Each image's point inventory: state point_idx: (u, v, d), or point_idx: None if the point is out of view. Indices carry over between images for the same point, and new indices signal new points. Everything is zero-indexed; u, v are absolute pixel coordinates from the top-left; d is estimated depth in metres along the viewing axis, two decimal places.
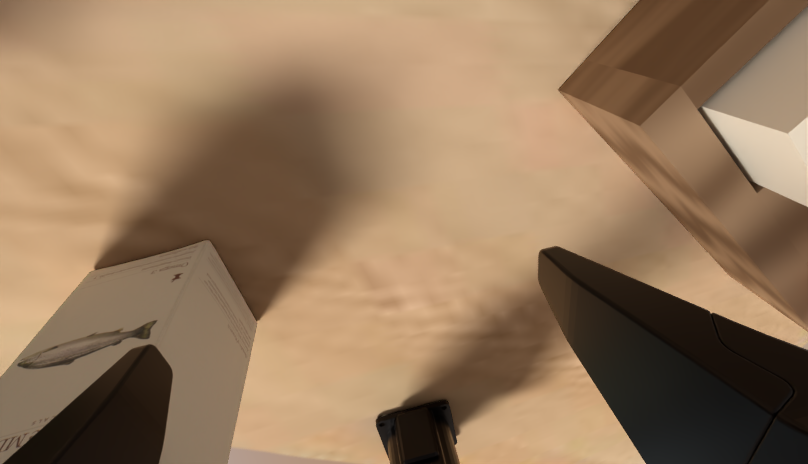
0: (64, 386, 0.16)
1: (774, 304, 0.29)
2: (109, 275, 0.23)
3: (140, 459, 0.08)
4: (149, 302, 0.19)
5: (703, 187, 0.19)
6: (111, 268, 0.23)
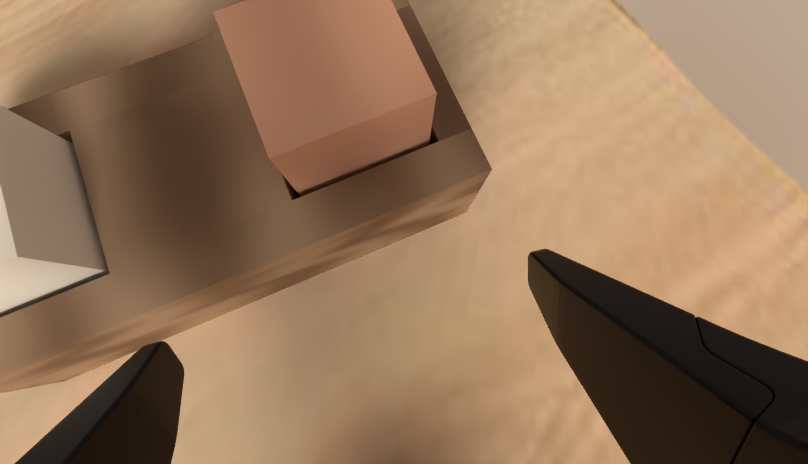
0: None
1: (449, 200, 0.19)
2: None
3: (153, 456, 0.08)
4: None
5: (48, 341, 0.15)
6: None
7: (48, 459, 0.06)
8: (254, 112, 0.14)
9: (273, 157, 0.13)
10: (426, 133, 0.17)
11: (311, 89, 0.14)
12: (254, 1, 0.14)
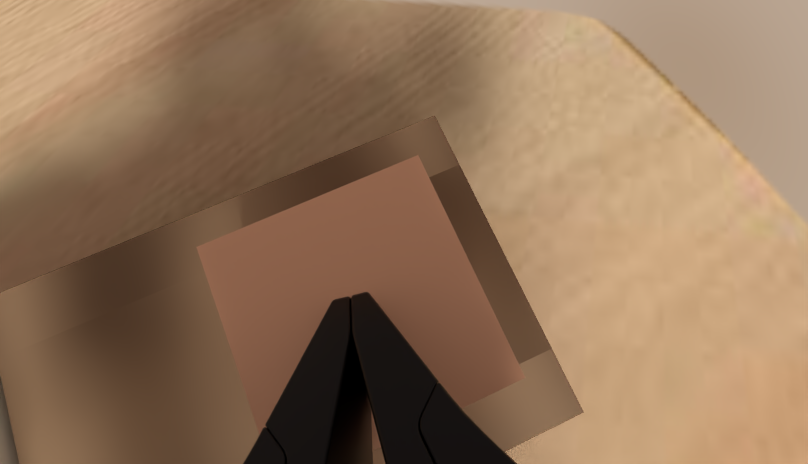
0: None
1: None
2: None
3: (365, 402, 0.08)
4: None
5: None
6: None
7: (316, 391, 0.06)
8: (257, 413, 0.09)
9: None
10: None
11: None
12: (255, 228, 0.10)
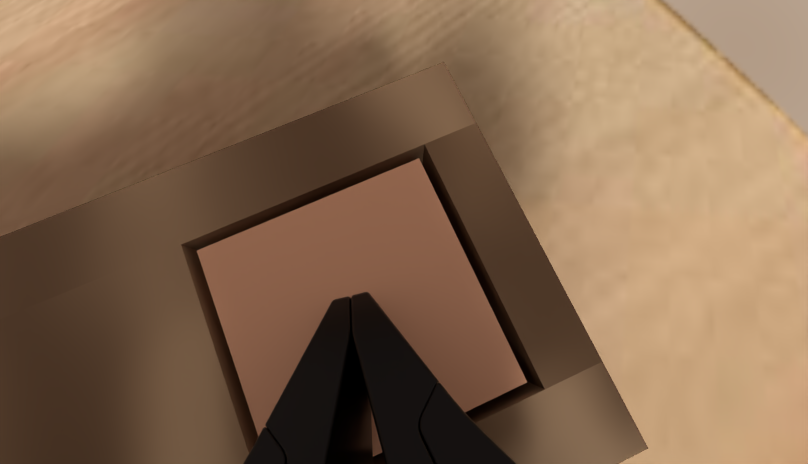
0: None
1: None
2: None
3: (365, 402, 0.08)
4: None
5: None
6: None
7: (316, 391, 0.06)
8: (257, 418, 0.09)
9: None
10: None
11: None
12: (256, 232, 0.10)
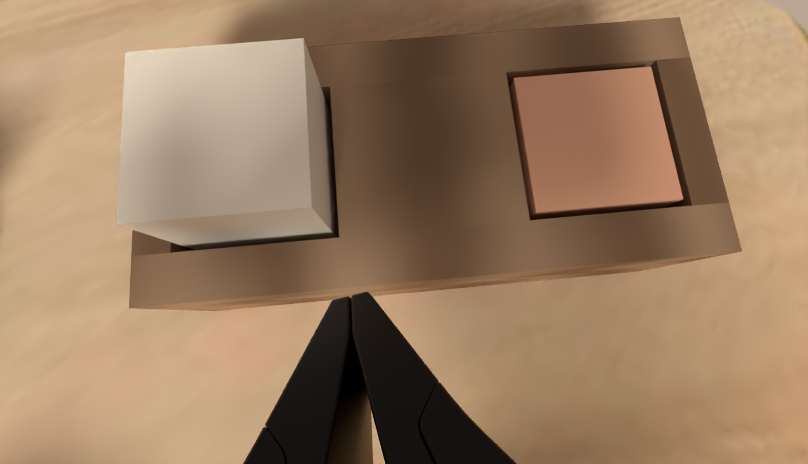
0: None
1: (661, 263, 0.18)
2: None
3: (365, 402, 0.08)
4: None
5: (268, 285, 0.16)
6: None
7: (316, 391, 0.06)
8: (531, 170, 0.17)
9: (539, 212, 0.16)
10: None
11: (581, 165, 0.17)
12: (548, 78, 0.17)
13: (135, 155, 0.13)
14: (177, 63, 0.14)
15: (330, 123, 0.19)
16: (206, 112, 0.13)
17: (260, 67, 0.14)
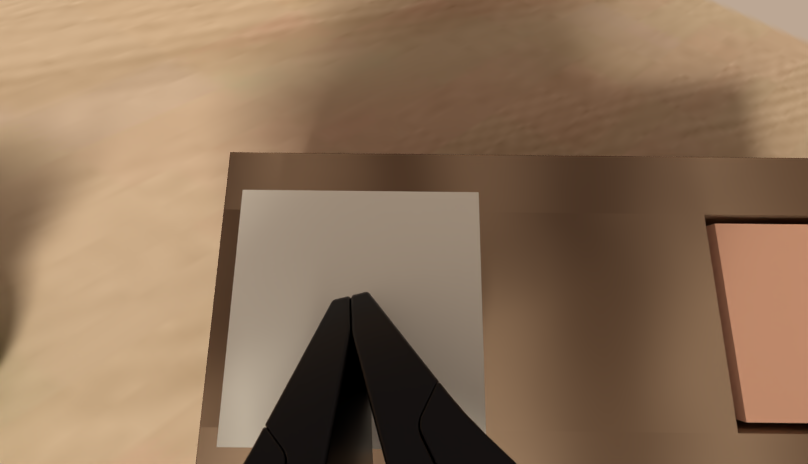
0: None
1: None
2: None
3: (365, 402, 0.08)
4: None
5: None
6: None
7: (315, 391, 0.06)
8: (738, 359, 0.12)
9: (749, 421, 0.12)
10: None
11: None
12: (761, 228, 0.13)
13: (247, 343, 0.10)
14: (309, 212, 0.10)
15: None
16: (345, 289, 0.10)
17: (420, 229, 0.10)
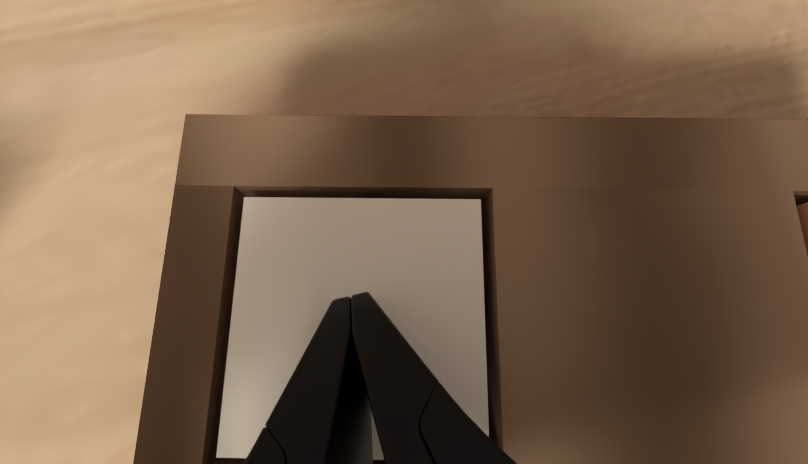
0: None
1: None
2: None
3: (365, 402, 0.08)
4: None
5: None
6: None
7: (316, 391, 0.06)
8: None
9: None
10: None
11: None
12: None
13: (248, 352, 0.09)
14: (311, 220, 0.10)
15: None
16: None
17: (422, 236, 0.10)
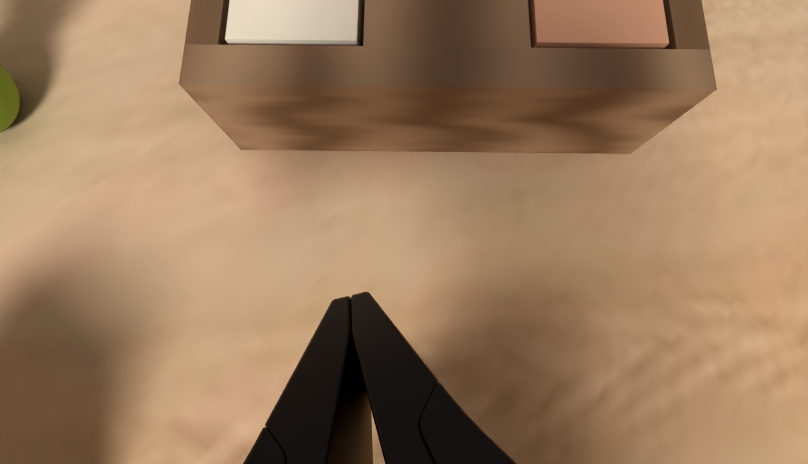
0: None
1: (647, 116, 0.20)
2: None
3: (365, 402, 0.08)
4: None
5: (299, 77, 0.18)
6: None
7: (315, 391, 0.06)
8: (536, 9, 0.19)
9: (539, 42, 0.19)
10: None
11: (581, 8, 0.19)
12: None
13: None
14: None
15: None
16: None
17: None
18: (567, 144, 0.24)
